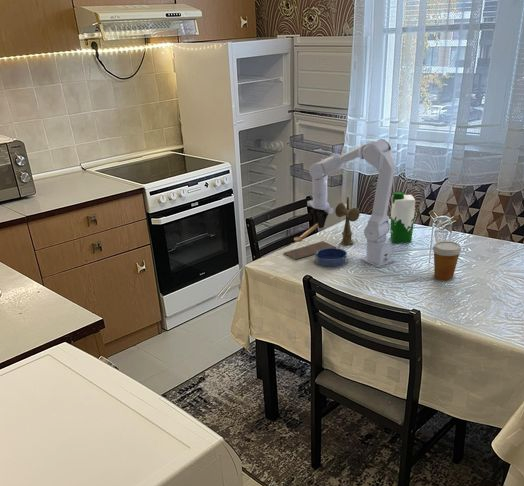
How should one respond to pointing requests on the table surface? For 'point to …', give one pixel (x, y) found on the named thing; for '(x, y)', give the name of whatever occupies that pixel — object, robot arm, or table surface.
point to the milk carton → (402, 217)
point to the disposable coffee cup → (445, 259)
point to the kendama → (347, 220)
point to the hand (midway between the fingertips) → (320, 227)
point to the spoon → (299, 239)
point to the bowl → (331, 257)
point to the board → (307, 250)
